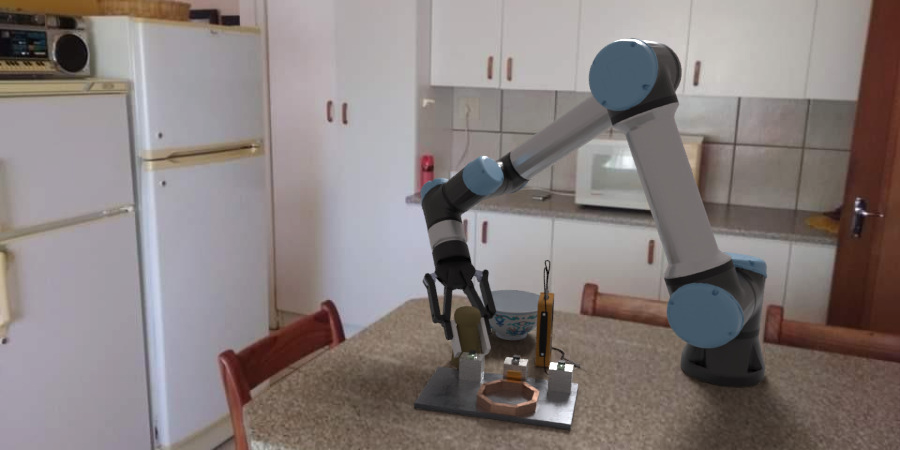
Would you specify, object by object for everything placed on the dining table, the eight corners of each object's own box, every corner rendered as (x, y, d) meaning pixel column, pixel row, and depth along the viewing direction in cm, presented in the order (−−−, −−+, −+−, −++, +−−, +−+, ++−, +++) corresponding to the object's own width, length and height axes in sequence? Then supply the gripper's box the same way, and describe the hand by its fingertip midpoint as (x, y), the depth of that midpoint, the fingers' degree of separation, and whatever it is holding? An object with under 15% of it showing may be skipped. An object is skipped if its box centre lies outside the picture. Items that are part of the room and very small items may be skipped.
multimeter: (587, 381, 133) (593, 276, 128) (532, 375, 134) (537, 272, 130) (588, 350, 147) (594, 256, 142) (539, 346, 149) (543, 252, 144)
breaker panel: (578, 388, 129) (579, 358, 128) (570, 429, 115) (572, 396, 113) (438, 371, 135) (438, 342, 134) (414, 408, 121) (414, 376, 119)
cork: (486, 359, 142) (488, 305, 139) (474, 370, 136) (476, 315, 134) (458, 353, 144) (459, 301, 142) (445, 364, 139) (446, 310, 136)
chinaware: (479, 320, 163) (480, 287, 161) (546, 324, 161) (548, 291, 159) (472, 345, 148) (473, 309, 147) (546, 350, 147) (547, 314, 145)
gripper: (486, 254, 153) (511, 356, 142) (403, 259, 148) (422, 365, 136) (495, 235, 147) (523, 340, 135) (409, 240, 142) (430, 349, 130)
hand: (472, 352), depth 136 cm, fingers closed on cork, 5 cm apart
